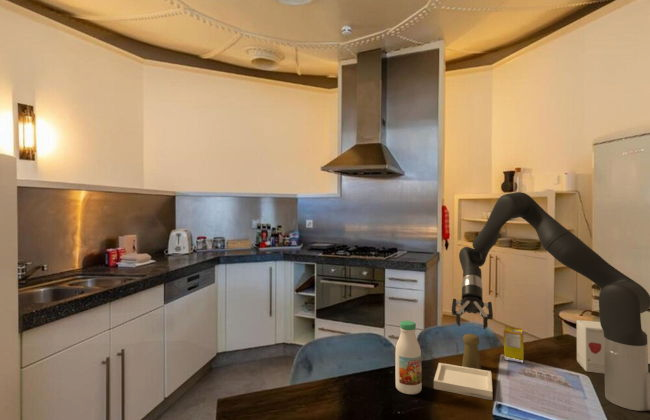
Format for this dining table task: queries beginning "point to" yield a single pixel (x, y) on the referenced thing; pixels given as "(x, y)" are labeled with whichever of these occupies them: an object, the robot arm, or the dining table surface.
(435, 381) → the tray
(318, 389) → the dining table surface
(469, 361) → the cork
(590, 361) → the supplement box
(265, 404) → the dining table surface
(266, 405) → the dining table surface
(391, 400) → the dining table surface
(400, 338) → the milk bottle
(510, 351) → the supplement box
